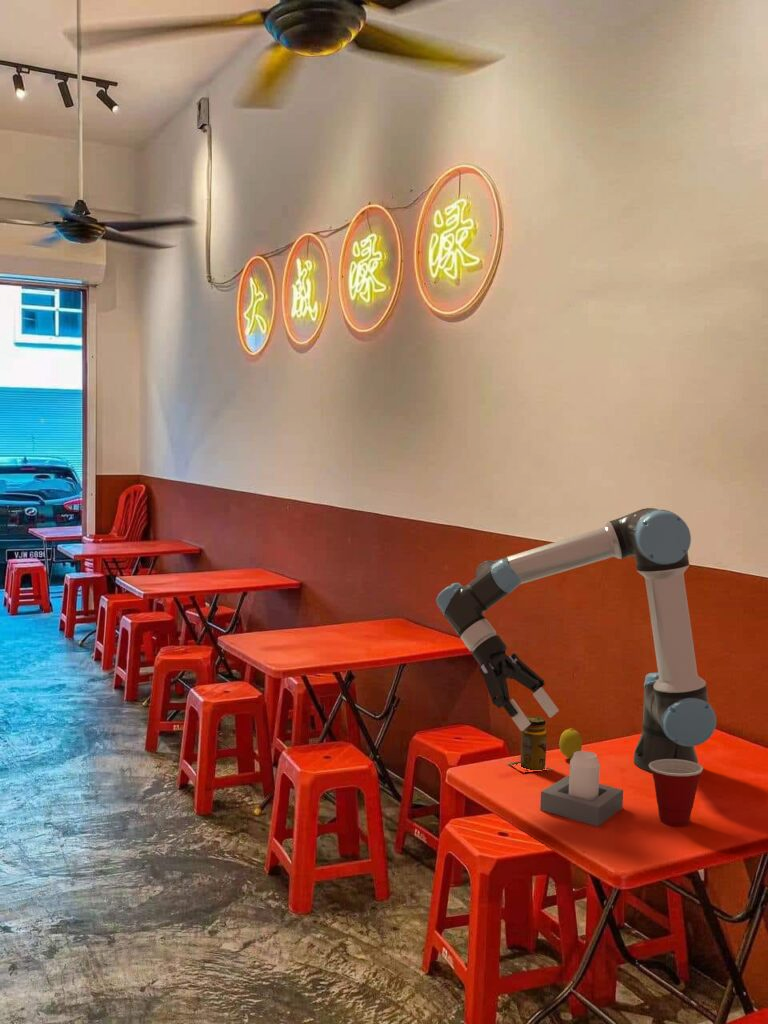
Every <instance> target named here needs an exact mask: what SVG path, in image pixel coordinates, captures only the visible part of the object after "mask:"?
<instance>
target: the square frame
mask: <svg viewBox="0 0 768 1024" xmlns="http://www.w3.org/2000/svg"><path fill="white" fill-rule="evenodd" d="M623 802H624V789H621V788H618V787H615V786H610V785H606V784H602V783H599V793H598V797H597V798H596V799H594V800H593V801H591V800H587V799H583V798H580V797H576V796H572V795H569V775H566V776H564V777H563V778H561V779H560V780H558V781H557V782H554V783H553V784H551V785H550V786H548V787H546V788H544V789H543V790H541V791H540V808H539V810H540V809H541V810H540V811H542V810H544V811H543V812H545V811H547V812H546V813H549V812H550V813H549V814H552V813H554V814H553V815H556V814H557V815H556V816H559V815H560V817H562V816H564V817H563V818H566V819H569V818H570V820H574V821H577V822H580V823H583V822H584V824H587V825H590V826H593V825H594V826H593V827H597V828H598V827H599V826H601V825H602V824H603V823H605V822H606V821H608V819H610V818H611V817H613V816H614V815H615V814H617V813H618V812H619V811H621V810H622V809H623V806H624V803H623Z"/></svg>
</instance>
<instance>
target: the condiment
mask: <svg viewBox="0 0 768 1024" xmlns="http://www.w3.org/2000/svg"><path fill="white" fill-rule="evenodd" d="M526 717H527V719H528V720H529V721H530V723H531V724H530V725H529V726H528V727H527V728H526V729H524V730H523V731H521V735H520V736H521V740H520V741H521V742H520V761H517V762H516V761H514V762H507V763H506V764H507V765H508V766H510V765H514V764H516V765H517V764H518V763H521V767H523V768H526V769H530V770H543V769H545V767H547V768H546V769H549V770H548V771H552V770H553V768H551V767H548V766H547V765H546V757H547V736H548V734H547V733H548V731H547V730H546V723H547V722H546V719H545V718H543V717H541V716H535V715H532V716H530V715H529V716H526ZM509 764H510V765H509Z"/></svg>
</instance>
